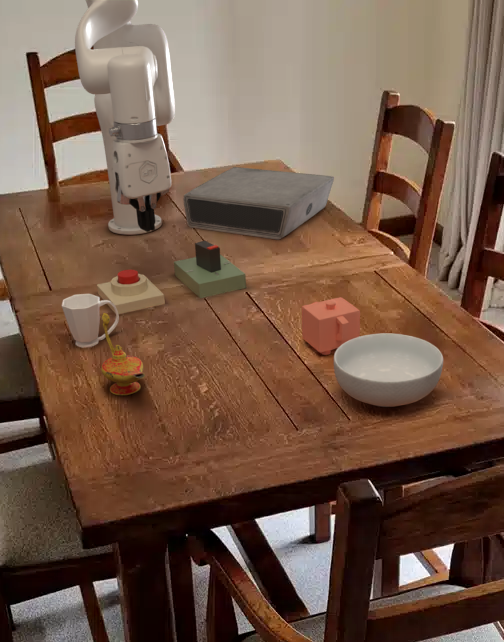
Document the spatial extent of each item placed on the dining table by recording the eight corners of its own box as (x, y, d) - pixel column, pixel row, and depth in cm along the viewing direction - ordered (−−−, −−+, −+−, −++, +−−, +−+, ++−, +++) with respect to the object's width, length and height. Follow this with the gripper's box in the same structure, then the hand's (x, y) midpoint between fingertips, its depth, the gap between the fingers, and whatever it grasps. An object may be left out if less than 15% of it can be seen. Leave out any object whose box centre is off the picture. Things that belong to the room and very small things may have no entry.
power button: (115, 280, 187) (114, 271, 186) (135, 276, 189) (134, 267, 188) (122, 287, 184) (121, 278, 183) (141, 283, 186) (140, 274, 185)
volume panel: (174, 275, 198) (173, 260, 196) (219, 266, 201) (217, 251, 199) (200, 298, 187) (198, 283, 185) (246, 288, 190) (245, 273, 189)
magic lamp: (126, 421, 149) (117, 357, 142) (92, 375, 162) (82, 315, 156) (167, 410, 151) (160, 347, 145) (130, 365, 164) (122, 306, 158)
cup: (63, 339, 174) (55, 298, 170) (114, 327, 178) (108, 286, 173) (74, 354, 169) (67, 312, 164) (127, 341, 173) (121, 299, 168)
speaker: (176, 227, 223) (291, 241, 211) (173, 193, 219) (289, 206, 206) (226, 197, 240) (335, 209, 228) (224, 165, 236) (334, 175, 223)
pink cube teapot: (332, 327, 173) (332, 284, 169) (365, 352, 164) (366, 308, 160) (294, 336, 171) (293, 293, 166) (325, 362, 162) (325, 317, 157)
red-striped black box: (196, 265, 194) (194, 242, 191) (206, 262, 195) (204, 239, 192) (211, 272, 190) (209, 249, 187) (221, 269, 191) (219, 246, 188)
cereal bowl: (365, 432, 143) (366, 390, 138) (315, 386, 155) (315, 346, 151) (461, 405, 148) (465, 364, 144) (405, 363, 160) (407, 324, 156)
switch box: (97, 293, 192) (95, 274, 189) (144, 283, 195) (142, 265, 192) (116, 315, 182) (113, 295, 180) (165, 304, 186) (163, 284, 183)
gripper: (109, 141, 166) (123, 243, 177) (181, 125, 173) (190, 225, 184) (89, 133, 171) (103, 233, 182) (160, 118, 178) (170, 215, 189)
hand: (147, 229), depth 183 cm, fingers closed
